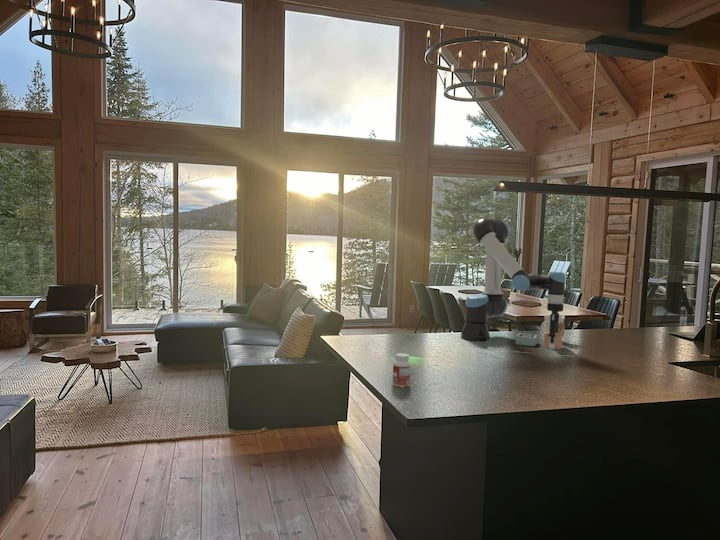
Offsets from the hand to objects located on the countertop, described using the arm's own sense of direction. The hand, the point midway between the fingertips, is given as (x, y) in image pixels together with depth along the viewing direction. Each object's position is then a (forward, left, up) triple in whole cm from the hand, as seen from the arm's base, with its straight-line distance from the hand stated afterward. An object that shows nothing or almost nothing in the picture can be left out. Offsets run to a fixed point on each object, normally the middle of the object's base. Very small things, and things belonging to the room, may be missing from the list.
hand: (552, 348), depth 263 cm
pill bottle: (-39, -104, 0) cm, 111 cm away
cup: (0, 0, 0) cm, 0 cm away
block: (-13, +1, +1) cm, 13 cm away
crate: (-13, +1, 0) cm, 13 cm away
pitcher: (-3, +21, 0) cm, 21 cm away
